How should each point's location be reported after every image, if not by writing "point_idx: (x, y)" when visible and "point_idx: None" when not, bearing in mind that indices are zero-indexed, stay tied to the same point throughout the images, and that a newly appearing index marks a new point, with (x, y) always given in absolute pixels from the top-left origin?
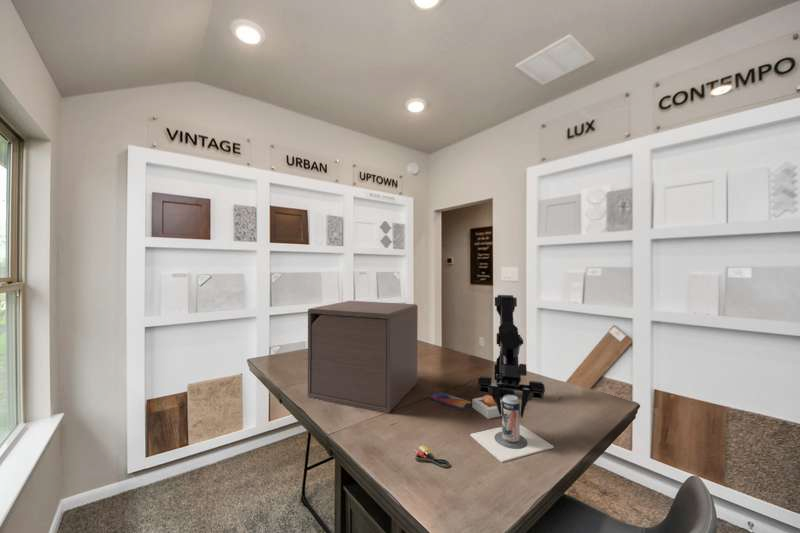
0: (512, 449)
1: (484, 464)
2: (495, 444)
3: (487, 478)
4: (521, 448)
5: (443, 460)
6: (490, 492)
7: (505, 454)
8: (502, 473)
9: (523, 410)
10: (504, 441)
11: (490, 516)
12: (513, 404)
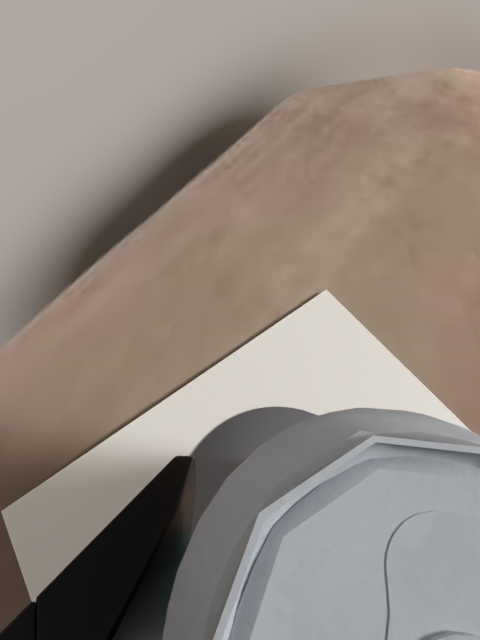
0: (274, 398)
1: (393, 266)
2: None
3: (366, 202)
4: (221, 423)
5: None
6: (347, 156)
7: (311, 341)
8: (317, 234)
9: (136, 503)
10: None
11: (336, 101)
12: (327, 415)
